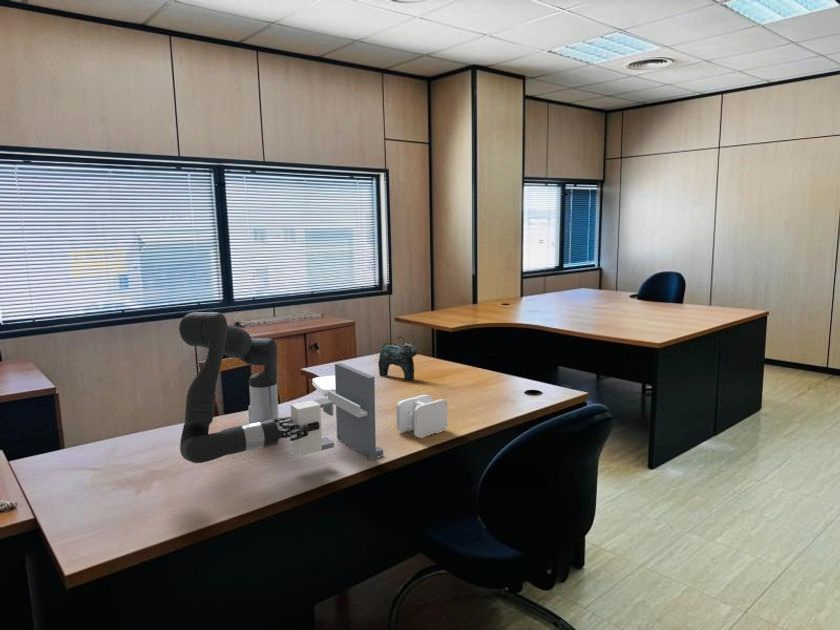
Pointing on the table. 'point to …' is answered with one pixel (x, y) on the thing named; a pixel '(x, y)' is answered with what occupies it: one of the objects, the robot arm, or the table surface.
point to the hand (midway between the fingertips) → (314, 422)
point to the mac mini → (325, 384)
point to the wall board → (355, 409)
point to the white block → (310, 414)
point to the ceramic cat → (398, 359)
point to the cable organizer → (422, 415)
